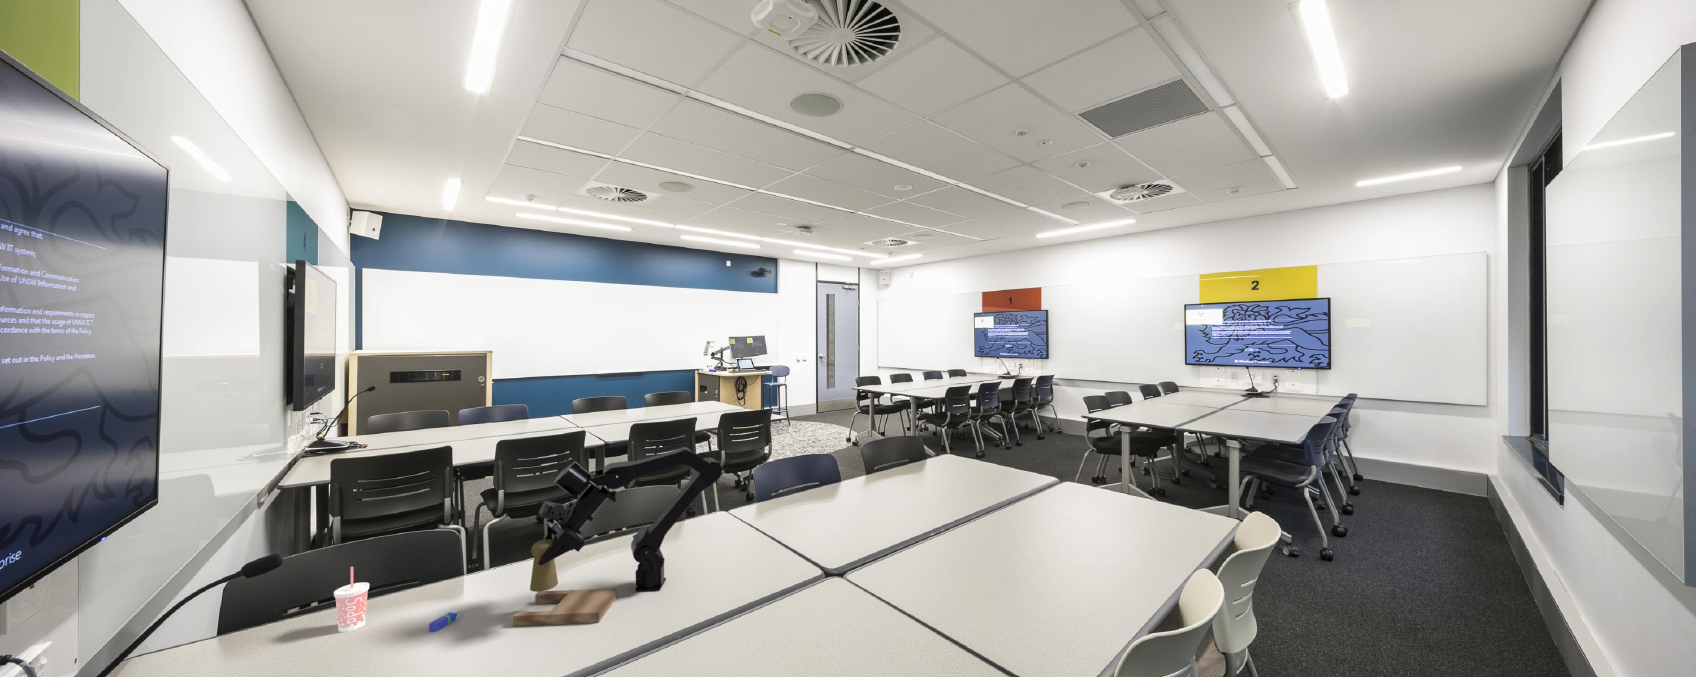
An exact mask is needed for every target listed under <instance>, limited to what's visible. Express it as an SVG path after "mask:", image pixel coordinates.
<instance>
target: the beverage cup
mask: <svg viewBox="0 0 1696 677" xmlns="http://www.w3.org/2000/svg"><path fill="white" fill-rule="evenodd" d="M369 589H370V583H369V582H365V581H364V582H355V583H354V566H350V584H346V585H343V586H341V587H339V588H336V589H335V590H334V591H333V597H334V598H335V604H336V617H337V618H336V620H337V630H338V632H340V633H345V632H346V633H348V632H351V631H352V632H353V631H355V630H357V628H358V629H360V628H362V627H363V626H365V625H366V619H367V618H366V617H367V605H368V604H367V603H368V591H369ZM361 626H362V627H361ZM359 627H360V628H359Z"/></svg>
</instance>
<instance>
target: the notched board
mask: <svg viewBox="0 0 1696 677" xmlns="http://www.w3.org/2000/svg"><path fill="white" fill-rule="evenodd" d="M617 591H618V588H593V589H590V588H589V589H588V588H587V589H568V590H563V589H562V590H546V591H541V592H535V594H534V605H545V604H547V605H548V604H551V605H552V604H556V606H555V607H554V608H552V610H540V611H539V610H537V611H536V610H535V611H517V612H516V613H514V614H513V615H512V627H523V626H524V627H526V626H528V627H529V626H547V625H548V626H549V625H550V626H551V625H572V624H574V625H575V624H596V623H600V622H601V620H602V619H603V617H604V616H605V614H606V613H607V612H608V611H609V610H610V608H611V606H612V605H613V603H615V601H616V599H617V597H618V592H617Z"/></svg>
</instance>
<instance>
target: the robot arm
mask: <svg viewBox="0 0 1696 677" xmlns="http://www.w3.org/2000/svg"><path fill="white" fill-rule="evenodd" d="M680 465H686V466H688V467H689V468H691V469H692V470H693V472H692V473H691V476H690V478H689V481H688V482H687V484H686V485H685V486H684V487H683V488H682V489H681V491H680V492H679V493H678V494H677V495H676V497H674V499H673V500H672V501H671V503H670V504H669V505H668V506H667V507H666V508H665V510H664V511H663V512H662V513H661V514H660V515H659V517H658V518H657V519H656V520H655V522H653V523H652V524H651V525H650V526H645V525H644V524H643V525H641V527H640V528H639V530H638V531H637V532H636V533H635V534H634V535H632V541H631V543H630V549H631V553H632V556H633V559H634V560H635V561H636V562H637V563H638V564H637V569H636V570H635V586H636V588H635V592H645V591H646V592H647V591H649V592H650V591H661V589H662V587H663V586H664V584H665V582H666V580H667V577H665V560H666V559H665V557H664V554H663V553H662V550H661V547H662V544H663V542H664V539H665V537H666V535H667V534H668V532H669V531H670V530H671V529H672V528H673V526H674V525H675V524H676V522H678V521H679V519H680V518H681V517H682V515H683V514H684V513H685V512H686V511H687V510H688V508H689V507H690V506H691V505H692V504H693V502H695V500H696V499H697V498H698V496H699V495H700V494H701V493H702V492H704V491H705V490H707V489H708V488H710V487H711V486H713V485H714V484H715V483H716V482H717V481H718V480H719V479H720V478H721V477H722V474H723V468H722V465H721V464H720V463H719V462H718V461H717V460H715V458H712V457H710V456H709V457H704V456H701V454H698V453H696V452H695V451H692V450H690V448H688V447H687V446H686V447H685V446H683V447H680V448H678V449H675V450H672V451H669V452H667V451H666V452H665V453H661V454H656V455H654V456H650V457H647V458H642V459H639V460H633V461H632V460H631V461H626V460H625V461H617V462H611V463H608V464H606V465H605V467H604V468H601V469H595V470H592V471H587V470H586V469H585V468H584V467H582V465H581V464H579V462H577V461H573V462H572V463H571V464H569V465H568V466H567V467H566V468H563V469H562V471H561V472H560V473H559V474H558V475H557V476H556V477H555V479H554V480H553V484H555V485H556V486H557V487H559V489H562V490H563V491H565V492H566V493H567V494H569V495H570V496H572V497H573V496H574V495H575V496H577V495H578V496H579V497H578V498H577V499H576V500H575V501H569V502H568V503H567V504H566V505H565V504H562V503H557V502H554V501H553V502H552V501H548V500H543V503H542V505H541V506H540V509H539V511H538V514H539V516H540V518H543V519H545V521H546V523H545V532H546V533H545V535H544V537H543V539H542V540H548V539H549V540H552V543H551V544H550V546H549V547H548V548H547V550H546V551H545V553H544V554H543V555H542V557H541V558H540V560H539V561H538V564H539V565H543V564H545V563H547V562H549V561H551V560H553V559H554V560H555V559H556V558H557V557H558V558H559V557H560V556H562V555H564V554H566V553H568V552H570V551H574V550H575V551H576V552H580V551H581V549H583V548H584V547H585V538H584V537H583V536H582V535H581V534H582V529H583V527H584V526H585V525H586V524H587V523H588V522H592V521H593V520H594V514H596V513H597V511H598V510H599V509H600V508H601V507H602V506H603V504H604V503H605V502H606V501H607V500H608V499H609V500H610V501H611V502H613V503H615V502H616V501H617V500H616V499H617V498H616V494H617V491H616V490H618V489H620V488H622V487H625V486H626V485H629V484H631V483H632V482H633V481H635V480H637V479H638V478H641V477H644V476H646V475H651V474H654V473H656V472H661V471H663V470H667V469H670V468H674V467H677V466H680Z"/></svg>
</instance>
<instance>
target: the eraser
mask: <svg viewBox="0 0 1696 677" xmlns="http://www.w3.org/2000/svg"><path fill="white" fill-rule="evenodd" d="M459 615H460V612H459V610H451V611H449V612H447V613H445V614H444V615H442V616H440V617H438V618H436V619H435V620H433V621H432V622H429V624H428V630H429V632H437V631H439V630H441V629H443V628H445V627H447V626H448V625H449V624H451V623H453V622H454V621H456V620H458V619H459V617H460V616H459Z"/></svg>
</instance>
